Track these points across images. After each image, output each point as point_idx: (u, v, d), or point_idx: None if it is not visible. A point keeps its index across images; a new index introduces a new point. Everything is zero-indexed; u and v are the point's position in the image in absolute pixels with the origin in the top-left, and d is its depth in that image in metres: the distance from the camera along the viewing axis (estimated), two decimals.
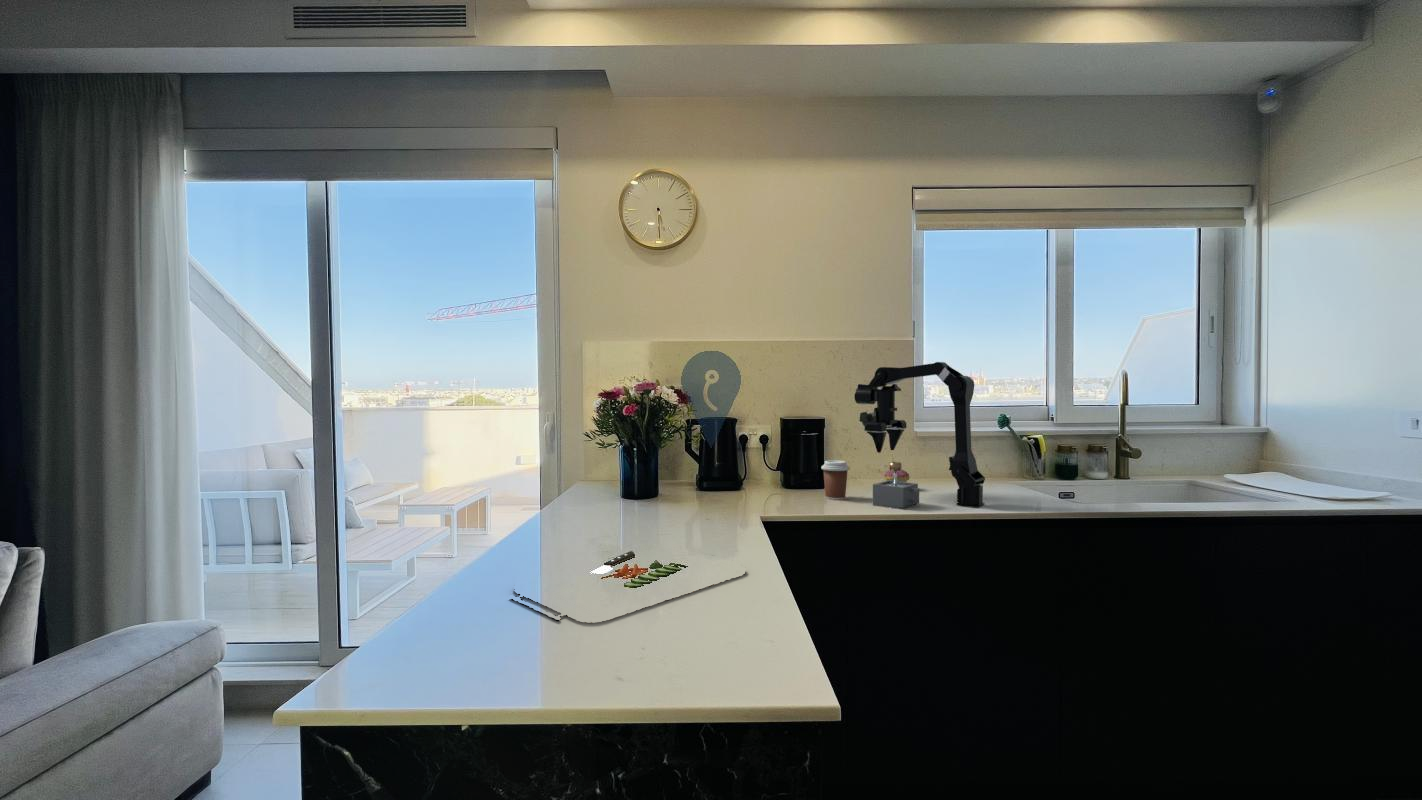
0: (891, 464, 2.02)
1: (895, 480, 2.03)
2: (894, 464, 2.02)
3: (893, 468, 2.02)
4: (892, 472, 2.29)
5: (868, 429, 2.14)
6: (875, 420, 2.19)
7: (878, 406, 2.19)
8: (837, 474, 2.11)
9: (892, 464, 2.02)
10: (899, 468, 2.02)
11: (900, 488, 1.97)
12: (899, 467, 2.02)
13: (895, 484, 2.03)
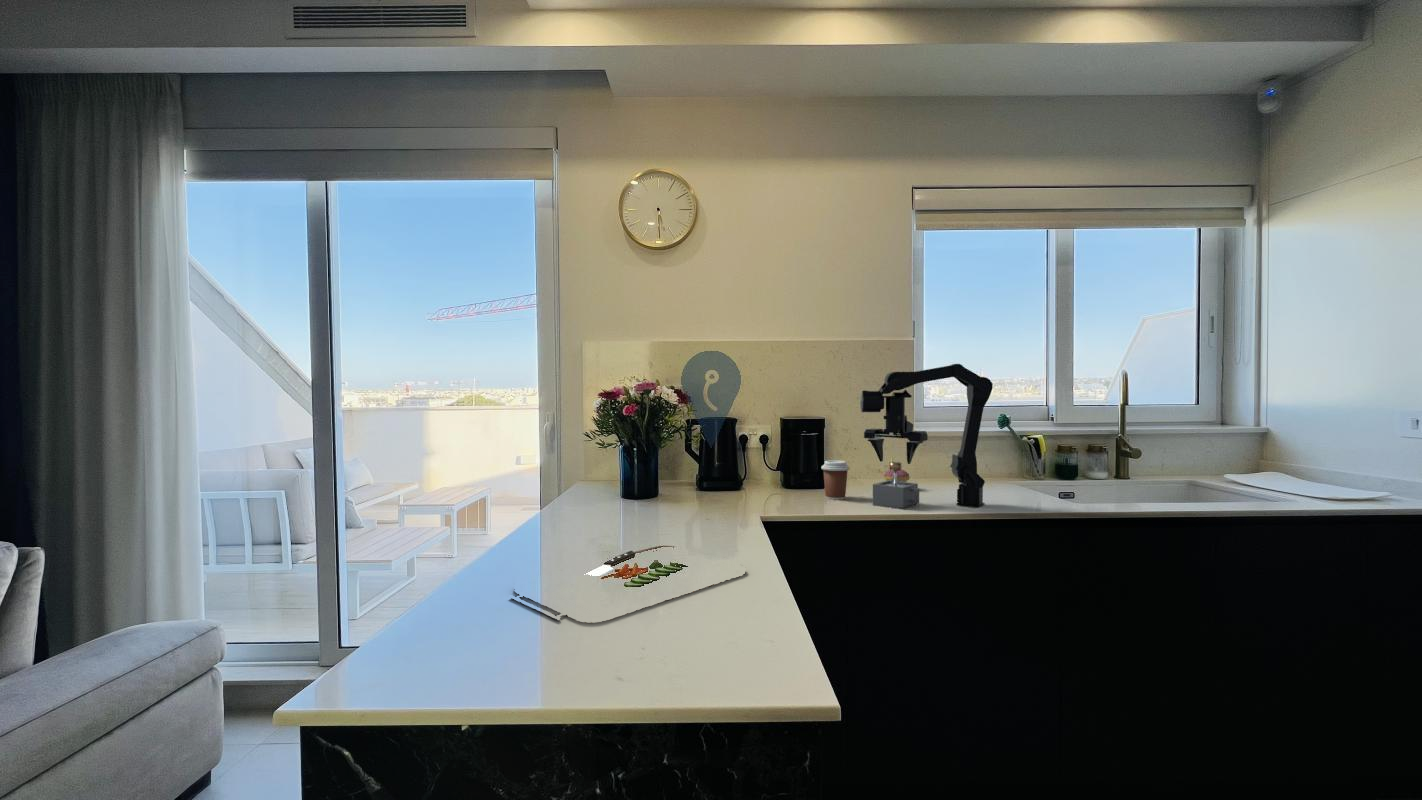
0: (891, 464, 2.02)
1: (895, 480, 2.03)
2: (894, 464, 2.02)
3: (893, 468, 2.02)
4: (892, 472, 2.29)
5: None
6: None
7: None
8: (837, 474, 2.11)
9: (892, 464, 2.02)
10: (899, 468, 2.02)
11: (900, 488, 1.97)
12: (899, 467, 2.02)
13: (895, 484, 2.03)
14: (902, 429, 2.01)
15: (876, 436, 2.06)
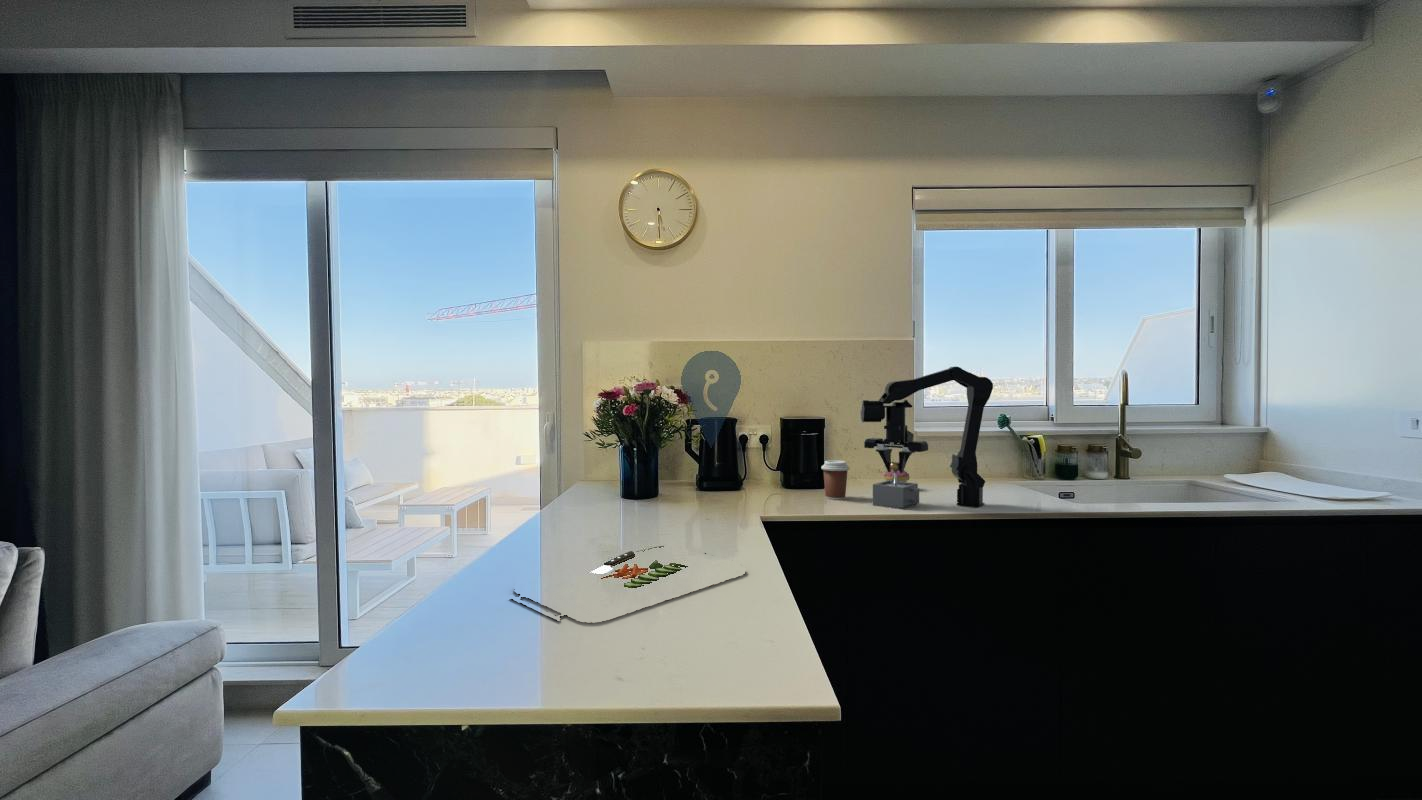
0: (891, 464, 2.02)
1: (895, 480, 2.03)
2: (894, 464, 2.02)
3: (893, 468, 2.02)
4: (892, 472, 2.29)
5: None
6: None
7: None
8: (837, 474, 2.11)
9: (892, 464, 2.02)
10: None
11: (900, 488, 1.97)
12: None
13: (895, 484, 2.03)
14: (903, 439, 2.01)
15: (884, 446, 2.04)
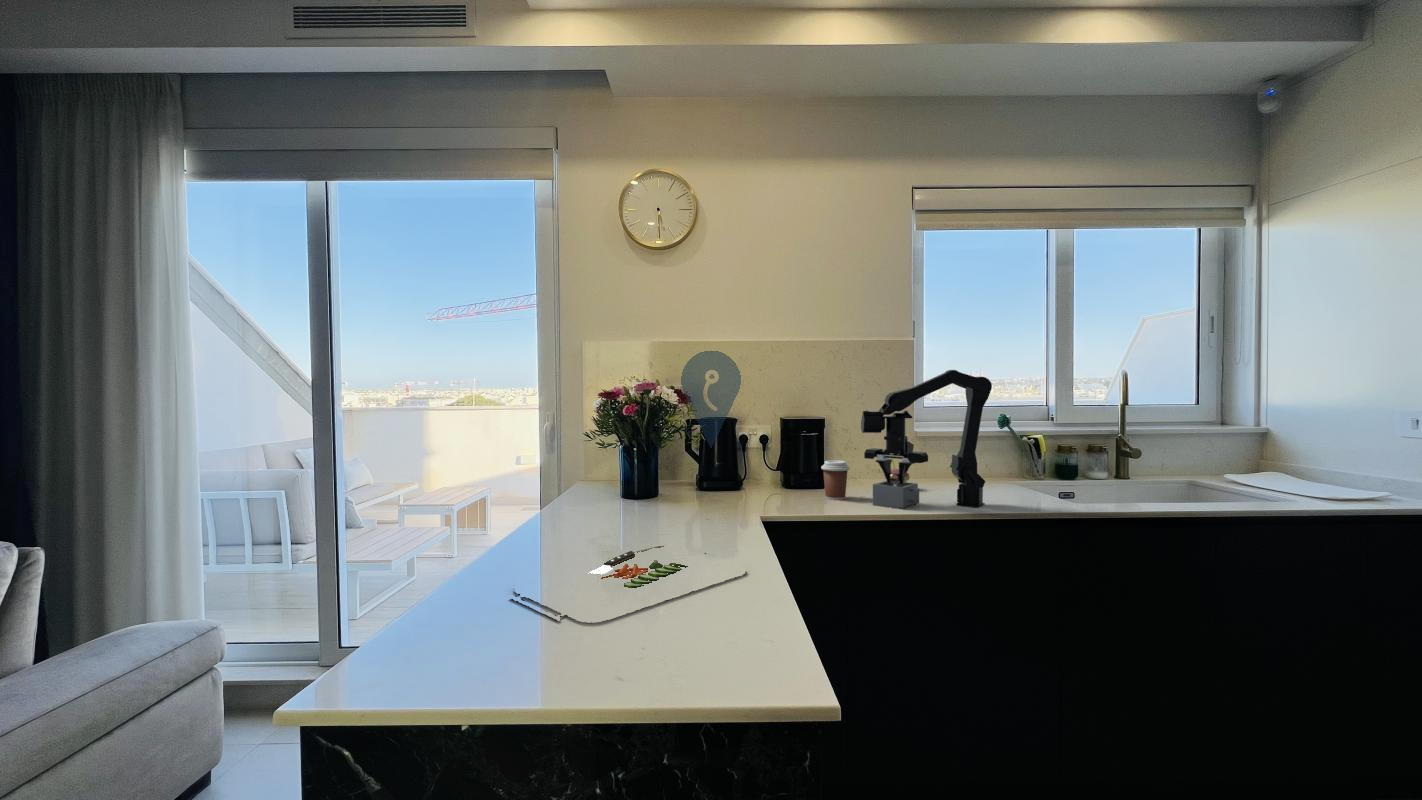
0: (891, 475, 2.02)
1: None
2: (894, 475, 2.02)
3: (893, 479, 2.02)
4: None
5: None
6: None
7: None
8: (837, 474, 2.11)
9: (892, 475, 2.02)
10: None
11: (900, 488, 1.97)
12: None
13: None
14: (903, 450, 2.01)
15: (884, 457, 2.04)
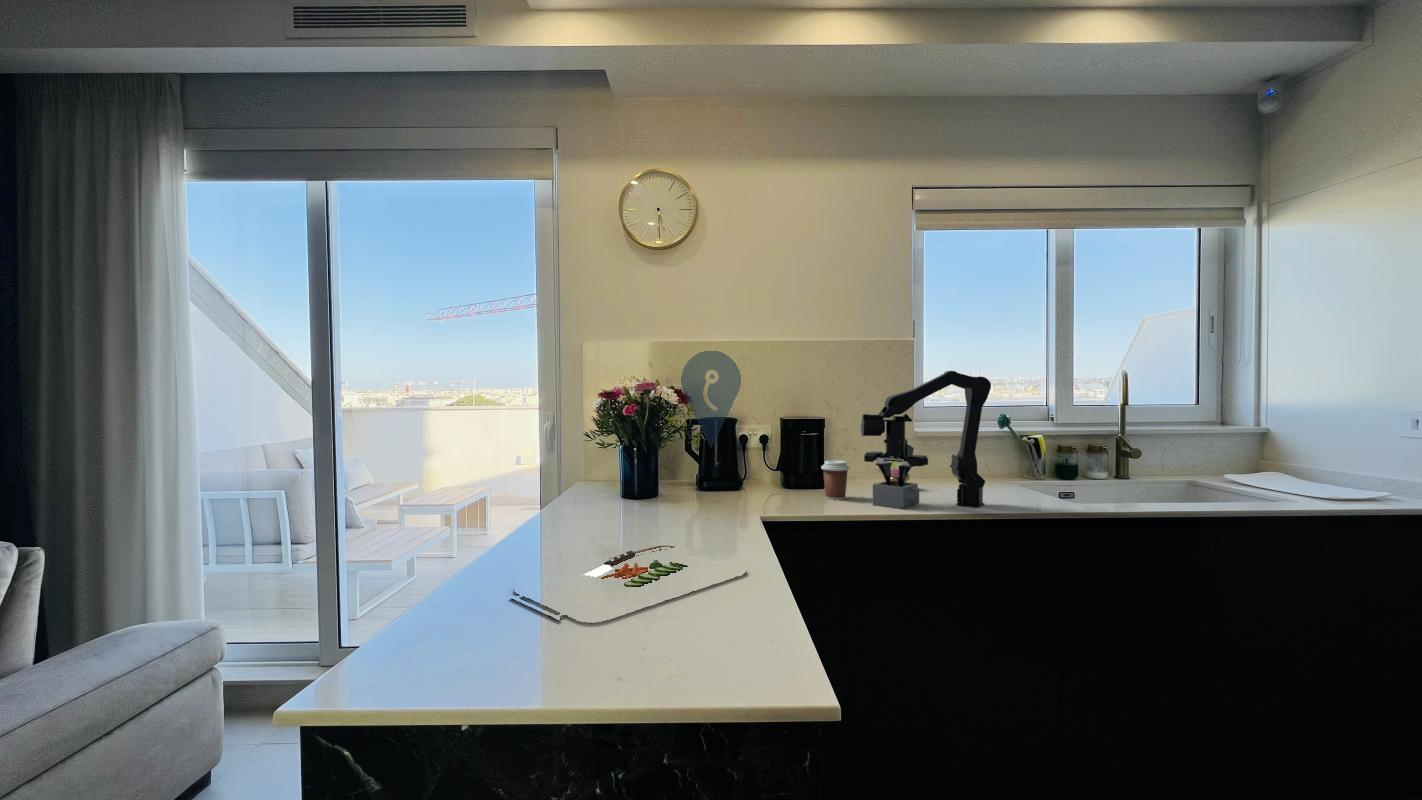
0: (891, 478, 2.02)
1: None
2: (894, 478, 2.02)
3: (893, 482, 2.02)
4: (892, 472, 2.29)
5: None
6: None
7: None
8: (837, 474, 2.11)
9: (892, 478, 2.02)
10: None
11: (900, 488, 1.97)
12: None
13: None
14: (902, 453, 2.01)
15: (884, 460, 2.04)
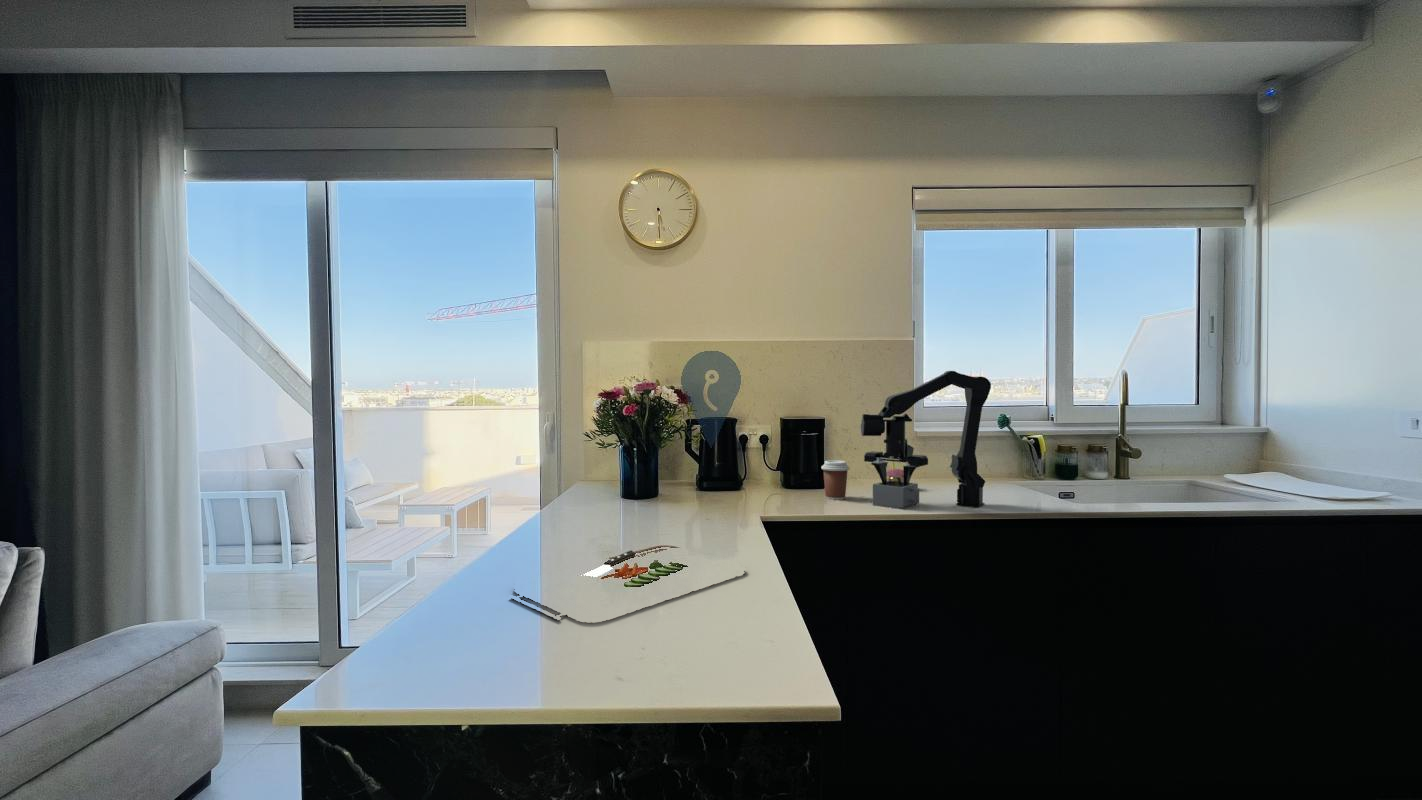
0: (891, 478, 2.02)
1: None
2: (894, 478, 2.02)
3: (893, 482, 2.02)
4: (892, 472, 2.29)
5: None
6: None
7: None
8: (837, 474, 2.11)
9: (892, 478, 2.02)
10: (899, 482, 2.02)
11: (900, 488, 1.97)
12: (899, 481, 2.02)
13: None
14: (902, 453, 2.01)
15: (880, 460, 2.05)
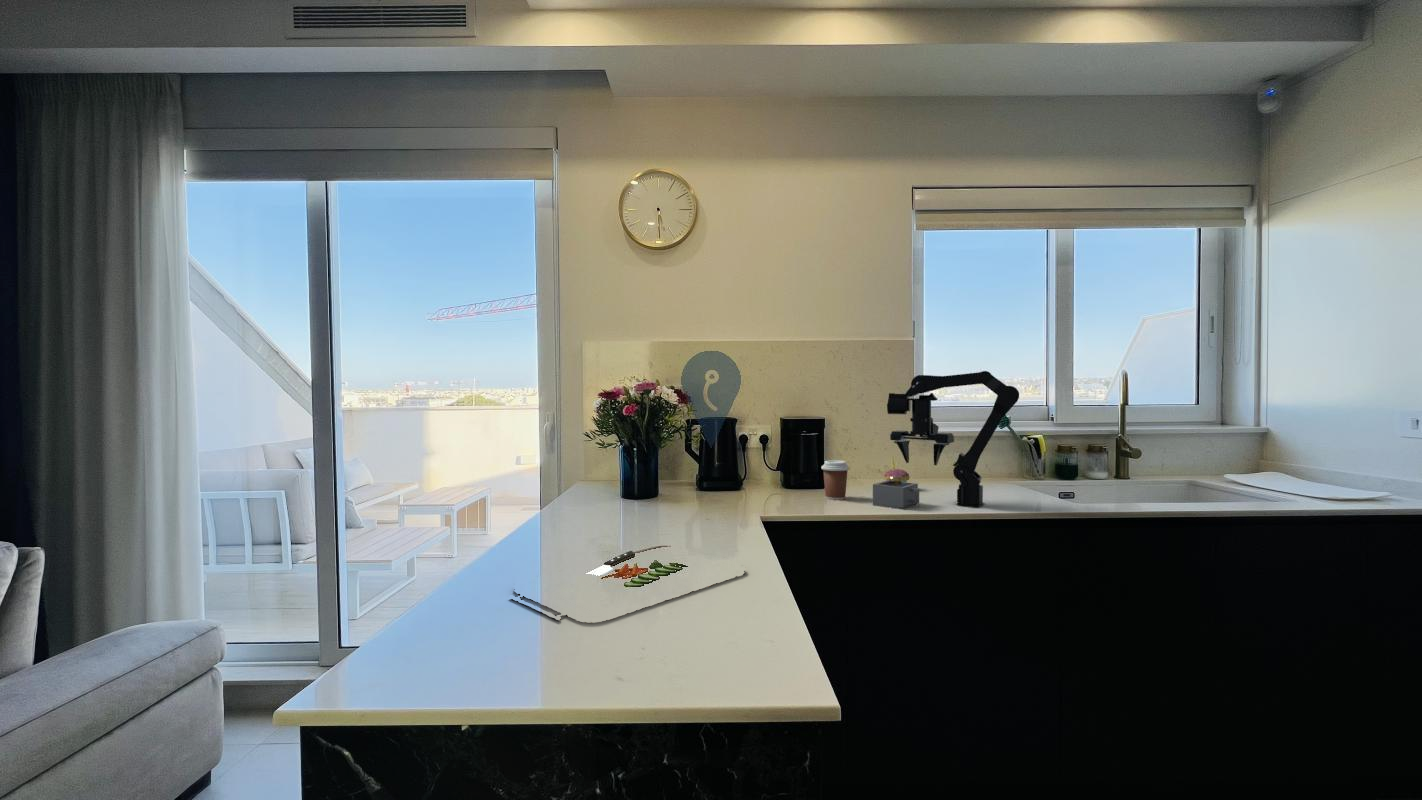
0: (891, 478, 2.02)
1: None
2: (894, 478, 2.02)
3: (893, 482, 2.02)
4: (892, 472, 2.29)
5: None
6: None
7: None
8: (837, 474, 2.11)
9: (892, 478, 2.02)
10: (899, 482, 2.02)
11: (900, 488, 1.97)
12: (899, 481, 2.02)
13: None
14: (929, 431, 2.05)
15: (902, 438, 2.10)
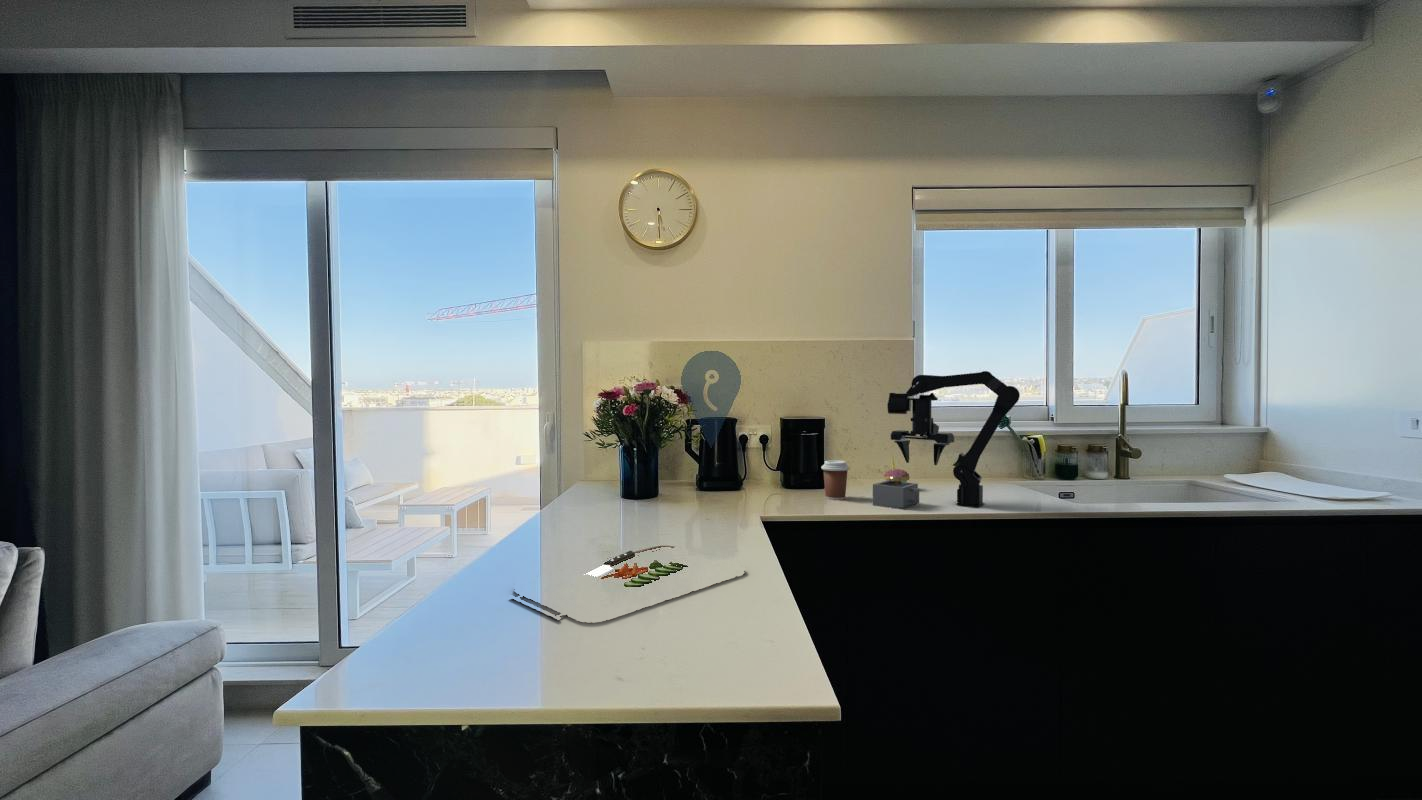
0: (891, 478, 2.02)
1: None
2: (894, 478, 2.02)
3: (893, 482, 2.02)
4: (892, 472, 2.29)
5: None
6: None
7: None
8: (837, 474, 2.11)
9: (892, 478, 2.02)
10: (899, 482, 2.02)
11: (900, 488, 1.97)
12: (899, 481, 2.02)
13: None
14: (929, 431, 2.05)
15: (903, 438, 2.10)
